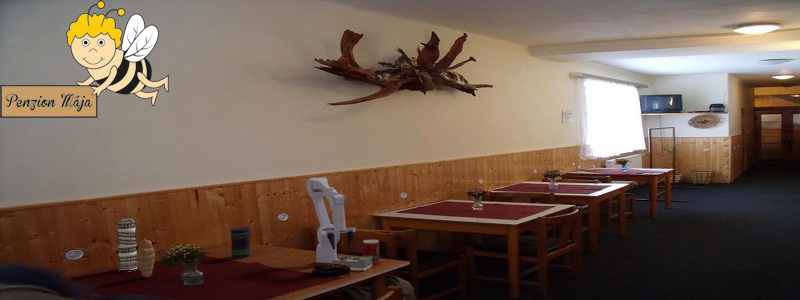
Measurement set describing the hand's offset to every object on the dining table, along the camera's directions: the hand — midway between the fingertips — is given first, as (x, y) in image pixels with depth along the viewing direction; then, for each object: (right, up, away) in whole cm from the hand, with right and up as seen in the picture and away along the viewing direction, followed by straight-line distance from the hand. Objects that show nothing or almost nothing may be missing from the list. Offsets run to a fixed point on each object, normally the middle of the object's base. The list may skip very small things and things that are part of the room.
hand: (341, 248), depth 282 cm
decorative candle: (-105, -12, +9) cm, 106 cm away
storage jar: (-57, -10, +33) cm, 66 cm away
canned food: (+14, -8, +6) cm, 17 cm away
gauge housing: (+5, -9, -2) cm, 10 cm away
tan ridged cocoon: (-88, -12, -10) cm, 89 cm away
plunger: (+3, -7, -1) cm, 8 cm away
